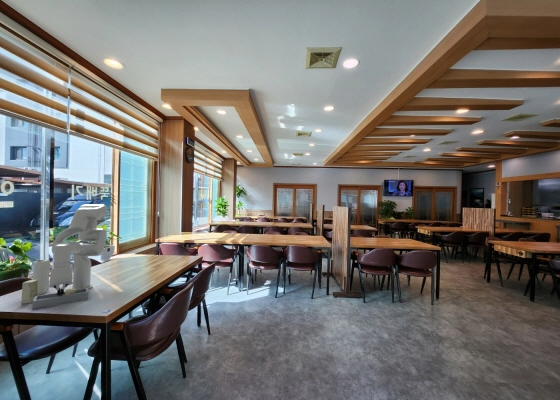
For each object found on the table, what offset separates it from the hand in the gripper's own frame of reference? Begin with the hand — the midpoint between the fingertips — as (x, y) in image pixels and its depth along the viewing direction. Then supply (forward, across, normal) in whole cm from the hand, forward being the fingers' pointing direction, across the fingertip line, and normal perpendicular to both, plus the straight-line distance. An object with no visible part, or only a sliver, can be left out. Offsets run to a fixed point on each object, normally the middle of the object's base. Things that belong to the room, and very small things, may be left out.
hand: (60, 295), depth 144 cm
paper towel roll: (+4, +11, -26) cm, 29 cm away
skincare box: (+4, +14, -11) cm, 18 cm away
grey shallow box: (+4, -1, 0) cm, 4 cm away
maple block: (+1, -4, 0) cm, 5 cm away
